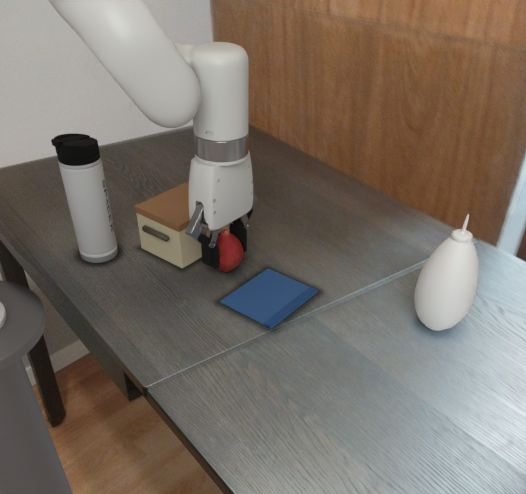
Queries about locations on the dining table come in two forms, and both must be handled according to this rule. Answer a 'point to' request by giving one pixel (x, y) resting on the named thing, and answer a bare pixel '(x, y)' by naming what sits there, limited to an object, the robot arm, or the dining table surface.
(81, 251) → the travel mug
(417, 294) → the white air blower bulb
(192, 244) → the bin
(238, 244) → the red pomegranate
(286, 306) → the cloth
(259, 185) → the dining table surface
